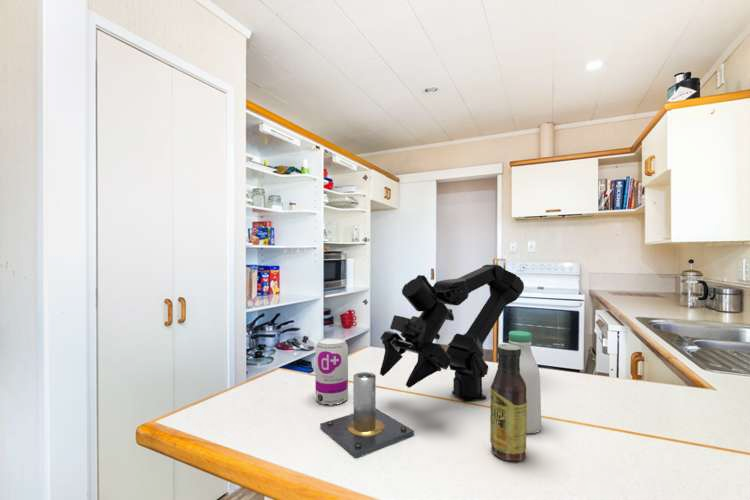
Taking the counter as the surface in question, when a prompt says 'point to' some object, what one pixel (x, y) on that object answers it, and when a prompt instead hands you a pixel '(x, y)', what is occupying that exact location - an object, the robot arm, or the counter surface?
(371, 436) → the flange plate
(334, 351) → the supplement can
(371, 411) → the sleeve
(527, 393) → the milk bottle
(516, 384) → the sauce bottle
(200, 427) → the counter surface
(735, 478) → the counter surface
